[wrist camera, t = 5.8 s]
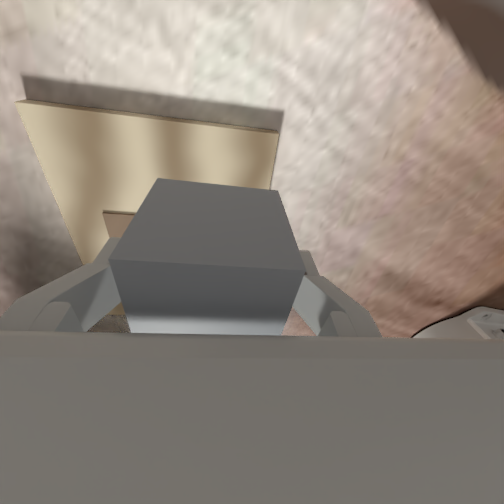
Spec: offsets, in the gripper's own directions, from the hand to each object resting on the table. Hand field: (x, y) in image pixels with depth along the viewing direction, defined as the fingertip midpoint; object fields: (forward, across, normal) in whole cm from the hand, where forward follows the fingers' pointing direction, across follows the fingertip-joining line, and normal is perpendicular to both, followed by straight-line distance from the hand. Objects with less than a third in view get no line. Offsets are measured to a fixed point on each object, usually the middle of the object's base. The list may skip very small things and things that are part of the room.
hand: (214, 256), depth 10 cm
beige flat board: (+13, +5, +9) cm, 16 cm away
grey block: (+2, 0, 0) cm, 2 cm away
